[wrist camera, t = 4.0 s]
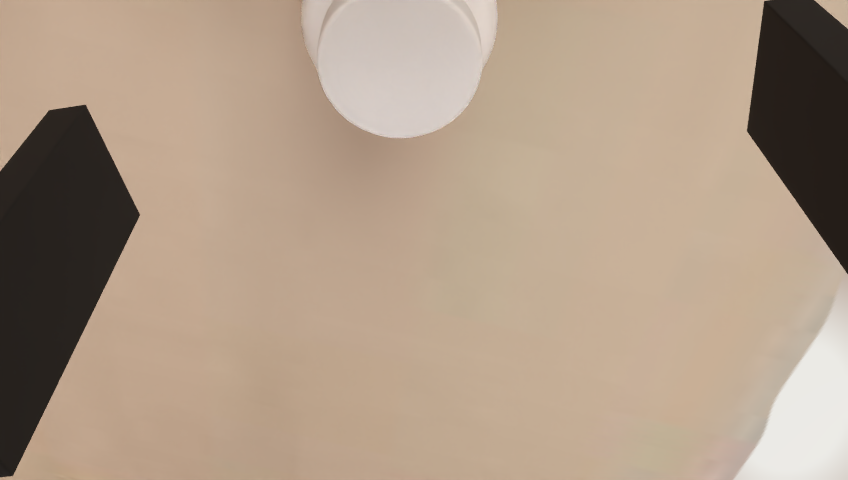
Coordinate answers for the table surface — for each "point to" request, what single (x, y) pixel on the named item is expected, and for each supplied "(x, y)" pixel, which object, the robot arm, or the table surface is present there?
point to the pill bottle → (399, 59)
